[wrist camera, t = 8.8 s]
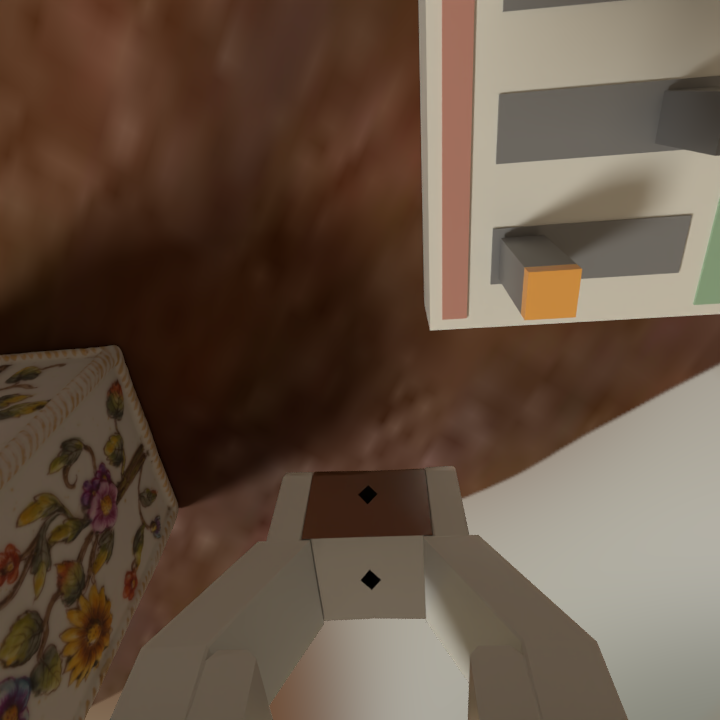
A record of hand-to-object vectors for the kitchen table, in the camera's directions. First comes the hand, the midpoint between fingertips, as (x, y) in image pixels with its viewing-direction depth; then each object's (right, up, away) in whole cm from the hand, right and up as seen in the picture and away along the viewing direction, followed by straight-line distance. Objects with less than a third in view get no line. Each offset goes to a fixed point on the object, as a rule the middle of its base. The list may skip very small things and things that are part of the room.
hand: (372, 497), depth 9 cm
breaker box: (+8, +12, +11) cm, 18 cm away
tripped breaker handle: (+6, +7, +10) cm, 14 cm away
